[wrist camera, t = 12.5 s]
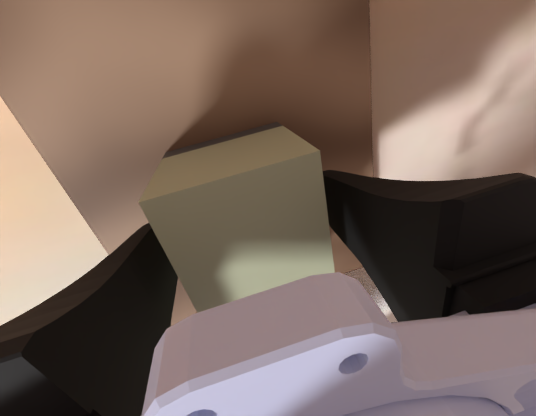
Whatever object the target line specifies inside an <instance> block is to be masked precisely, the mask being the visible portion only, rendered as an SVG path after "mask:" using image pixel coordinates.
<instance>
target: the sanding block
mask: <svg viewBox="0 0 536 416" xmlns="http://www.w3.org/2000/svg"><path fill="white" fill-rule="evenodd" d="M138 203H139V205H140V207H141V208H142V210H143V212H144V214H145V216H146V218H147V220H148V222H149V223H150V225H151V227H152V229H153V231H154V233H155V235H156V236H157V238H158V240H159V242H160V244H161V246H162V248H163V250H164V251H165V253H166V255H167V257H168V259H169V261H170V263H171V265H172V266H173V268H174V270H175V272H176V274H177V276H178V278H179V279H180V281H181V283H182V285H183V287H184V289H185V291H186V293H187V294H188V296H189V298H190V300H191V302H192V304H193V306H194V308H195V309H196V311H197V313H198V312H201V311H204V310H207V309H210V308H214V307H217V306H220V305H223V304H226V303H229V302H232V301H235V300H238V299H241V298H244V297H247V296H250V295H253V294H256V293H259V292H262V291H265V290H268V289H271V288H274V287H278V286H281V285H284V284H287V283H290V282H293V281H296V280H299V279H302V278H305V277H308V276H311V275H319V274H327V273H335V270H334V262H333V254H332V246H331V237H330V229H329V221H328V213H327V204H326V196H325V188H324V180H323V172H322V163H321V155H320V150H318V149H317V148H315V147H314V146H312V145H311V144H310V143H308V142H307V141H305V140H304V139H302V138H301V137H299V136H298V135H296V134H295V133H293V132H292V131H290V130H289V129H287V128H286V127H284V126H283V125H281V124H280V123H278V122H275V123H271V124H267V125H264V126H260V127H256V128H253V129H249V130H245V131H242V132H238V133H234V134H231V135H227V136H223V137H220V138H216V139H212V140H209V141H205V142H201V143H198V144H194V145H190V146H187V147H183V148H179V149H176V150H172V151H168V152H166V153H165V154H164V156H163V158H162V160H161V162H160V163H159V165H158V167H157V169H156V171H155V173H154V174H153V176H152V178H151V180H150V182H149V184H148V185H147V187H146V189H145V191H144V193H143V195H142V196H141V198H140V200H139V202H138Z"/></svg>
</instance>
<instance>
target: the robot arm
mask: <svg viewBox="0 0 536 416" xmlns="http://www.w3.org/2000/svg"><path fill="white" fill-rule="evenodd" d="M322 172H323V180H324V188H325V196H326V204H327V213H328V221H329V226H330V227H331V228H332V230H333V231H334V232H335V233H336V234H337V236H338V237H339V238H340V239H341V240H342V241H343V243H344V244H345V245H346V246H347V247H348V248H349V250H350V251H351V252H352V253H353V254H354V255H355V257H356V258H357V259H358V260H359V262H360V263H361V264H362V266H363V267H364V269H365V270H366V272H367V273H368V275H369V276H370V278H371V279H372V281H373V282H374V284H375V285H376V287H377V288H378V290H379V291H380V293H381V295H382V296H383V298H384V299H385V301H386V303H387V304H388V306H389V308H390V309H391V311H392V313H393V314H394V316H395V318H396V319H397V321H398V322H392V323H390V322H389V320H388V319H387V318H386V316H385V315H384V314H383V312H382V311H381V310H380V308H379V307H378V306H377V304H376V303H375V301H374V300H373V299H372V297H371V296H370V295H369V293H368V292H367V291H366V289H365V288H364V287H363V285H362V284H361V283H360V281H359V280H357V279H355V278H352V277H350V276H347V275H345V274H342V273H340V272H336V273H327V274H319V275H311V276H308V277H305V278H302V279H299V280H296V281H293V282H290V283H287V284H284V285H281V286H278V287H274V288H271V289H268V290H265V291H262V292H259V293H256V294H253V295H250V296H247V297H244V298H241V299H238V300H235V301H232V302H229V303H226V304H223V305H220V306H217V307H214V308H210V309H207V310H204V311H201V312H198V313H195V314H192V315H191V316H189V317H187V318H185V319H183V320H182V321H180V322H178V323H176V324H174V325H173V326H171V318H172V312H173V306H174V300H175V294H176V287H177V281H178V276H177V274H176V272H175V270H174V268H173V266H172V265H171V263H170V261H169V259H168V257H167V255H166V253H165V251H164V250H163V248H162V246H161V244H160V242H159V240H158V238H157V236H156V235H155V233H154V231H153V229H152V227H151V225H150V223H147V224H145V225H143V226H142V227H141V228H139V229H138V230H137V231H136V232H135V233H133V234H132V235H131V236H130V237H129V238H128V239H127V240H126V241H124V242H123V243H122V244H121V245H120V246H119V247H118V248H117V249H115V250H114V251H113V252H112V253H111V254H110V255H108V256H107V257H106V258H105V259H104V260H102V261H101V262H100V263H99V264H98V265H96V266H95V267H94V268H93V269H91V270H90V271H89V272H87V273H86V274H85V275H83V276H82V277H81V278H79V279H78V280H76V281H75V282H74V283H72V284H71V285H69V286H68V287H66V288H65V289H63V290H62V291H60V292H58V293H57V294H55V295H54V296H52V297H50V298H49V299H47V300H46V301H44V302H42V303H41V304H39V305H37V306H36V307H34V308H32V309H30V310H29V311H27V312H25V313H23V314H22V315H20V316H18V317H16V318H14V319H12V320H11V321H9V322H7V323H5V324H3V325H1V326H0V416H536V178H535V177H532V176H529V175H526V174H522V173H513V174H505V175H498V176H491V177H483V178H476V179H464V180H451V181H402V180H389V179H381V178H374V177H368V176H362V175H357V174H352V173H347V172H342V171H336V170H326V171H322Z"/></svg>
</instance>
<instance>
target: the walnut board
mask: <svg viewBox="0 0 536 416" xmlns="http://www.w3.org/2000/svg"><path fill="white" fill-rule="evenodd" d="M0 96H1V98H2V99H3V101H4V102H5V104H6V105H7V107H8V108H9V109H10V111H11V112H12V114H13V115H14V117H15V118H16V120H17V121H18V123H19V124H20V126H21V127H22V129H23V130H24V131H25V133H26V134H27V136H28V137H29V139H30V140H31V142H32V143H33V145H34V146H35V148H36V149H37V150H38V152H39V153H40V155H41V156H42V158H43V159H44V161H45V162H46V164H47V165H48V167H49V168H50V169H51V171H52V172H53V174H54V175H55V177H56V178H57V180H58V181H59V183H60V184H61V186H62V187H63V189H64V190H65V191H66V193H67V194H68V196H69V197H70V199H71V200H72V202H73V203H74V205H75V206H76V208H77V209H78V210H79V212H80V213H81V215H82V216H83V218H84V219H85V221H86V222H87V224H88V225H89V227H90V228H91V230H92V231H93V232H94V234H95V235H96V237H97V238H98V240H99V241H100V243H101V244H102V246H103V247H104V249H105V250H106V251H107V253H108V254H109V255H110V254H111V253H112V252H113V251H114V250H115V249H117V248H118V247H119V246H120V245H121V244H122V243H123V242H124V241H126V240H127V239H128V238H129V237H130V236H131V235H132V234H133V233H135V232H136V231H137V230H138V229H139V228H141V227H142V226H143V225H145V224H147V223H149V222H148V220H147V218H146V216H145V214H144V212H143V210H142V208H141V207H140V205H139V203H138V202H139V200H140V198H141V196H142V195H143V193H144V191H145V189H146V187H147V185H148V184H149V182H150V180H151V178H152V176H153V174H154V173H155V171H156V169H157V167H158V165H159V163H160V162H161V160H162V158H163V156H164V154H165V153H166V152H168V151H172V150H176V149H179V148H183V147H187V146H190V145H194V144H198V143H201V142H205V141H209V140H212V139H216V138H220V137H223V136H227V135H231V134H234V133H238V132H242V131H245V130H249V129H253V128H256V127H260V126H264V125H267V124H271V123H275V122H278V123H280V124H281V125H283V126H284V127H286V128H287V129H289V130H290V131H292V132H293V133H295V134H296V135H298V136H299V137H301V138H302V139H304V140H305V141H307V142H308V143H310V144H311V145H312V146H314V147H315V148H317V149H318V150H320V155H321V163H322V171H326V170H336V171H342V172H347V173H352V174H357V175H362V176H368V177H373V158H372V110H371V63H370V16H369V0H0ZM329 229H330V237H331V246H332V254H333V262H334V270H335V273H336V272H340V273H342V274H344V273H347V272H350V271H353V270H356V269H359V268H362V267H363V266H362V264H361V263H360V262H359V260H358V259H357V258H356V257H355V255H354V254H353V253H352V252H351V251H350V250H349V248H348V247H347V246H346V245H345V244H344V243H343V241H342V240H341V239H340V238H339V237H338V236H337V234H336V233H335V232H334V231H333V230H332V228H331V227H330V226H329ZM195 313H197V311H196V309H195V308H194V306H193V304H192V302H191V300H190V298H189V296H188V294H187V293H186V291H185V289H184V287H183V285H182V283H181V281H180V279H179V278H178V281H177V287H176V294H175V300H174V306H173V312H172V318H171V326H173V325H174V324H176V323H178V322H180V321H182V320H183V319H185V318H187V317H189V316H191V315H192V314H195Z"/></svg>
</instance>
